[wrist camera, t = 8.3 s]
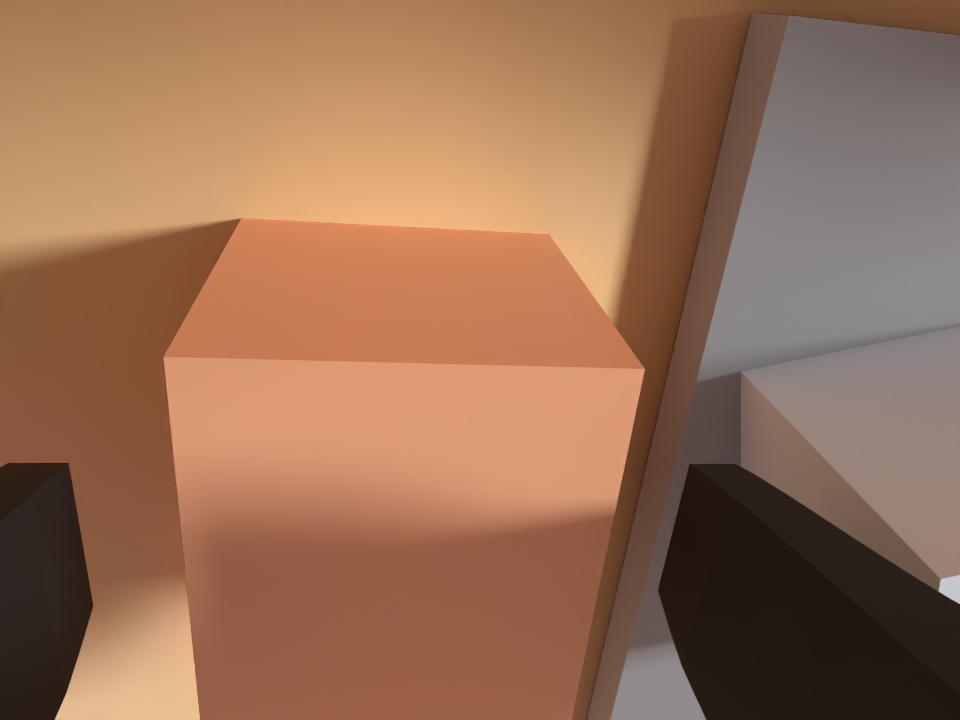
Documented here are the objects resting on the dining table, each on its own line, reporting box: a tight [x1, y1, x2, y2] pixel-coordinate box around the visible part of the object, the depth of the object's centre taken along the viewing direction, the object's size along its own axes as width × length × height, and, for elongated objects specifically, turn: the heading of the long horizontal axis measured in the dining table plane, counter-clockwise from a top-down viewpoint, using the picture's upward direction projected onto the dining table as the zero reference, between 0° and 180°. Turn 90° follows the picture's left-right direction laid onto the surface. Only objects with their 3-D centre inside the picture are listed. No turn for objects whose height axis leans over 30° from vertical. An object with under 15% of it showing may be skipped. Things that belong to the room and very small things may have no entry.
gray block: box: [587, 13, 960, 720], centre depth 13 cm, size 7×14×1 cm, turn 174°
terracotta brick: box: [164, 218, 645, 720], centre depth 10 cm, size 4×6×4 cm
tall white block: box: [741, 326, 960, 604], centre depth 11 cm, size 4×6×4 cm
